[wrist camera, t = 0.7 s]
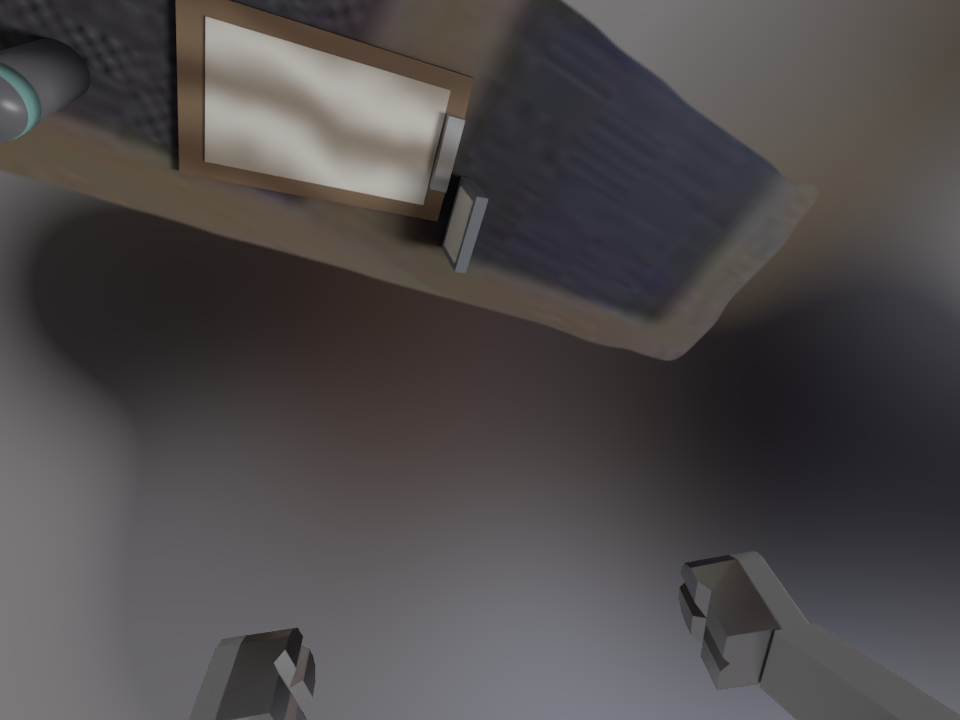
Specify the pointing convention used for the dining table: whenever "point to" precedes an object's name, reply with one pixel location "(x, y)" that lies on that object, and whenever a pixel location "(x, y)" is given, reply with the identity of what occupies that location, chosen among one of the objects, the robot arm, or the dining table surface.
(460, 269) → the picture frame
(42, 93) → the microphone
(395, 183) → the clipboard
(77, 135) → the dining table surface
